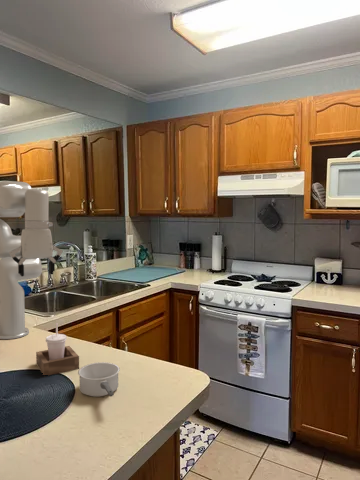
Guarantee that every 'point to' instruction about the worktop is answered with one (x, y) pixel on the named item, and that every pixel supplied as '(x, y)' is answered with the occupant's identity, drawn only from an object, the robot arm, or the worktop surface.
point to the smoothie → (56, 345)
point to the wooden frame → (57, 362)
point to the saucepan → (99, 379)
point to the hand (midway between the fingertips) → (36, 274)
